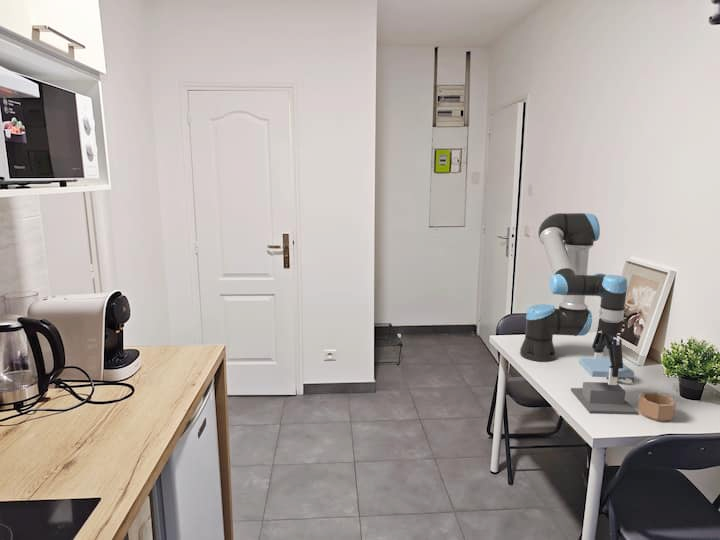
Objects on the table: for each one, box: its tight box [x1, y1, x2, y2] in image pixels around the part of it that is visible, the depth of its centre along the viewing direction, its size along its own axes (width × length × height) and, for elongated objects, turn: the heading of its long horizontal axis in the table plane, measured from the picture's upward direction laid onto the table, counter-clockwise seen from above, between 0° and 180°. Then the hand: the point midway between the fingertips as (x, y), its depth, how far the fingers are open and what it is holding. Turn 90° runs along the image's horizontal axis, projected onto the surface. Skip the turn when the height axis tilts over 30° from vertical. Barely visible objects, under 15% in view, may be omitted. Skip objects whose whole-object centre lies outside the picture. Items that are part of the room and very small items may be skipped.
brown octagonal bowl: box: [637, 391, 677, 422], centre depth 165 cm, size 10×10×6 cm
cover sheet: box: [578, 357, 635, 379], centre depth 173 cm, size 12×14×2 cm
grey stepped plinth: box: [570, 381, 639, 415], centre depth 175 cm, size 18×16×6 cm
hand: (604, 376), depth 174 cm, fingers closed on cover sheet, 12 cm apart
